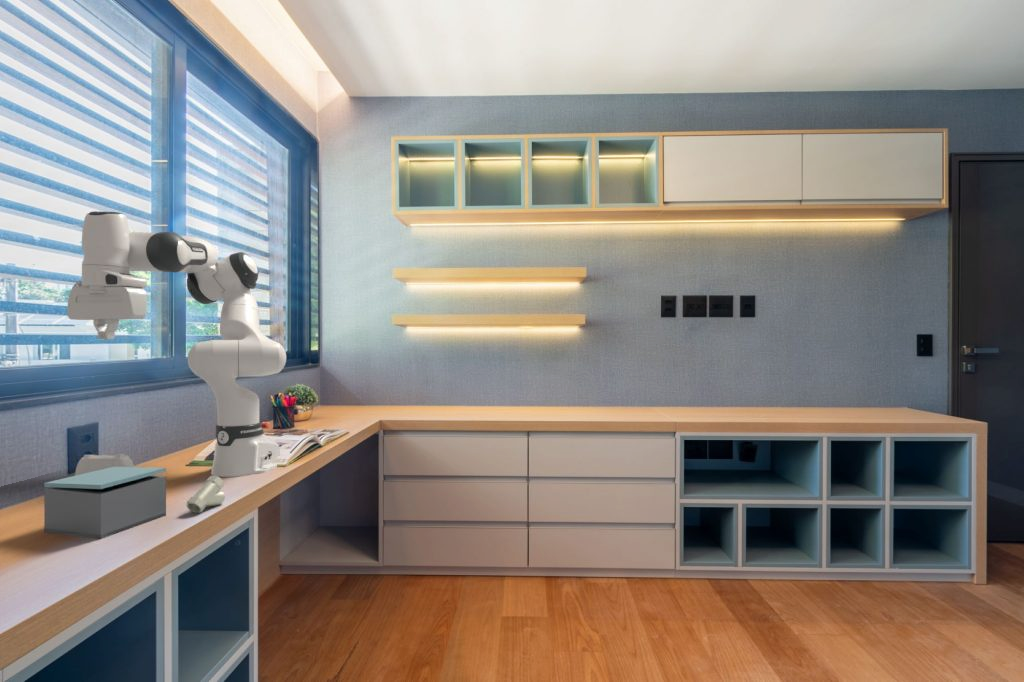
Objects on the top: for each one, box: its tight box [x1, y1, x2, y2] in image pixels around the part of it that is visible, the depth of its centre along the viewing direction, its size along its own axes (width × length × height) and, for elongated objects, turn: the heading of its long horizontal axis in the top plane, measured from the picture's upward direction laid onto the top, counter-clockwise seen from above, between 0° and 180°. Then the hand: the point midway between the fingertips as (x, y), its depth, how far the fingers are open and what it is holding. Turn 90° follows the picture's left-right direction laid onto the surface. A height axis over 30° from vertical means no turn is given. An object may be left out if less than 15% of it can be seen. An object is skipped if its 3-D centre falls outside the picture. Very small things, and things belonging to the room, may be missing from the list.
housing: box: [43, 474, 167, 540], centre depth 110 cm, size 14×15×9 cm
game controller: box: [74, 453, 135, 476], centre depth 133 cm, size 14×4×10 cm, turn 93°
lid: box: [43, 466, 167, 489], centre depth 110 cm, size 14×15×1 cm
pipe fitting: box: [186, 475, 226, 514], centre depth 119 cm, size 8×4×7 cm
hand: (106, 339), depth 121 cm, fingers closed
